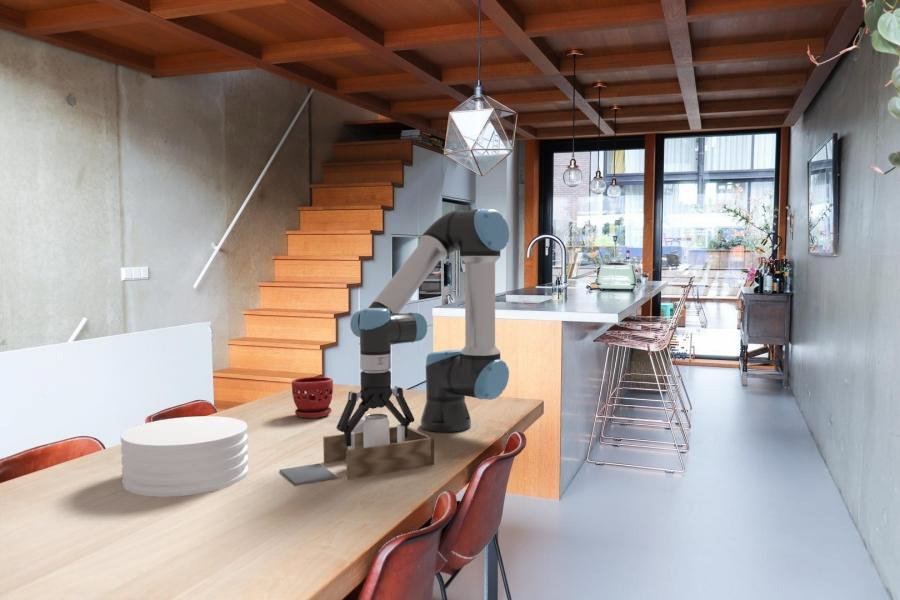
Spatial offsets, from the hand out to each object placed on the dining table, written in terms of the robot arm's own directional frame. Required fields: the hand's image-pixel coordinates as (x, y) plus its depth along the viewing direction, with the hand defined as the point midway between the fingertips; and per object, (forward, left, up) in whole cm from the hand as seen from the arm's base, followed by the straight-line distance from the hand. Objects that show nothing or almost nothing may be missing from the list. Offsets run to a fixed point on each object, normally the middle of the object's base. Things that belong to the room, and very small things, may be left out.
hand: (376, 454), depth 182 cm
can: (0, 0, -2) cm, 2 cm away
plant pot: (-5, -60, -2) cm, 60 cm away
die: (-4, -15, -2) cm, 16 cm away
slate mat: (+18, 0, -2) cm, 18 cm away
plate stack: (+43, -14, -3) cm, 45 cm away
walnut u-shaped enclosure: (-1, 0, -2) cm, 2 cm away
